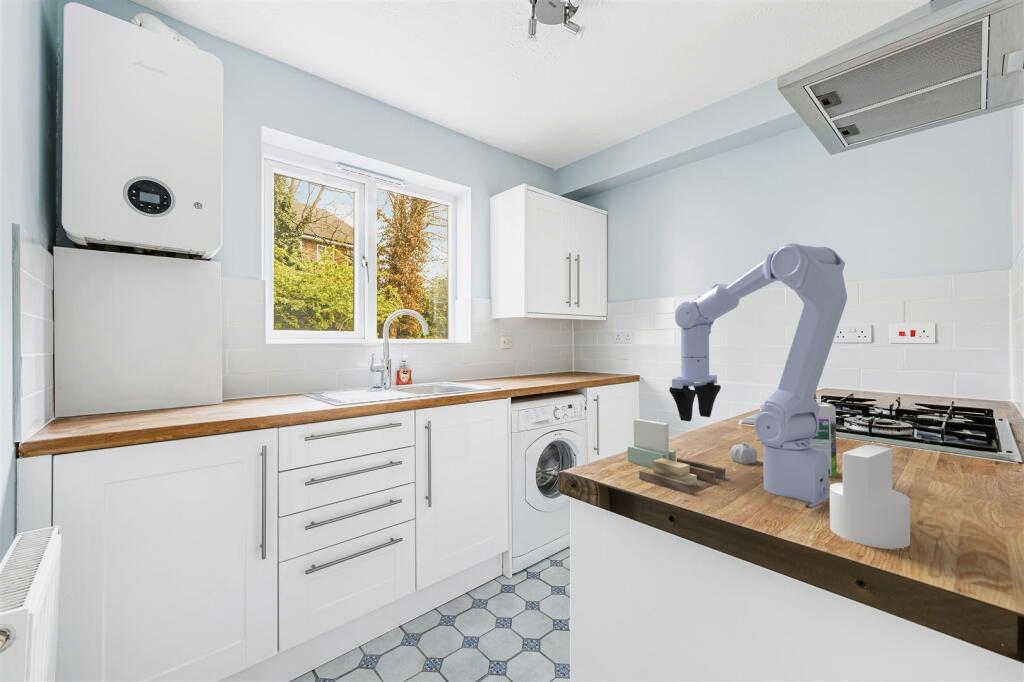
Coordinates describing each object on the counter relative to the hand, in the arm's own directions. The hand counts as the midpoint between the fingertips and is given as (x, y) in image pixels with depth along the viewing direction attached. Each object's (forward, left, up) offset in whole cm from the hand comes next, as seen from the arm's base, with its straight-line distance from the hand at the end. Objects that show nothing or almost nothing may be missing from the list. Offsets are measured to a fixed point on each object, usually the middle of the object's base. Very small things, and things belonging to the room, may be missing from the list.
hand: (695, 418), depth 98 cm
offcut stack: (-5, +16, -10) cm, 19 cm away
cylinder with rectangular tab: (-34, +12, -11) cm, 38 cm away
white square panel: (+6, +9, -9) cm, 14 cm away
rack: (-5, +12, -10) cm, 17 cm away
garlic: (-6, -9, -11) cm, 15 cm away
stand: (+6, +9, -10) cm, 15 cm away
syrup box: (-18, -14, -11) cm, 25 cm away
